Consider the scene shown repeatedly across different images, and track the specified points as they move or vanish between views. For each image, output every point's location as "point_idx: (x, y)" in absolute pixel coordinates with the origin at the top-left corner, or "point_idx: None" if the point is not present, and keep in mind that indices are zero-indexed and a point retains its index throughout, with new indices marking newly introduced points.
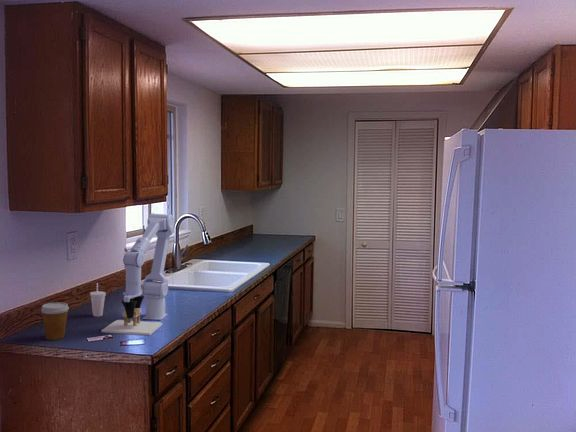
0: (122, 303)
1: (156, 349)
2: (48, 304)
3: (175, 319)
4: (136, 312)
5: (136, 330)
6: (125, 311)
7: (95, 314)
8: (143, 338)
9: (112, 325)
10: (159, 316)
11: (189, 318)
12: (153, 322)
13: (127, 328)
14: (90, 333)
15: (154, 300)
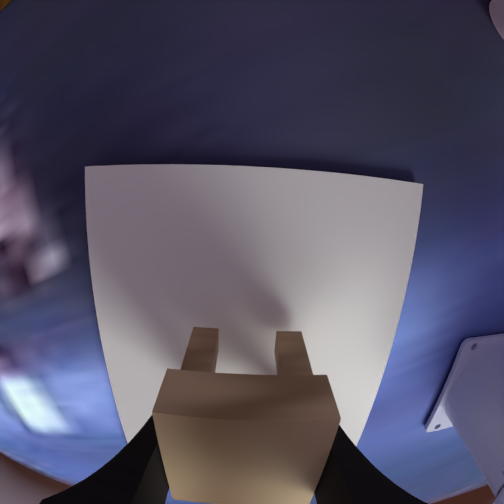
0: (46, 498)
1: (16, 456)
2: None
3: (428, 461)
4: (180, 492)
5: (151, 406)
6: (157, 432)
7: (496, 6)
8: (82, 431)
9: (237, 202)
10: (452, 424)
11: (430, 485)
12: (351, 438)
13: (177, 349)
14: (58, 102)
15: (495, 481)
